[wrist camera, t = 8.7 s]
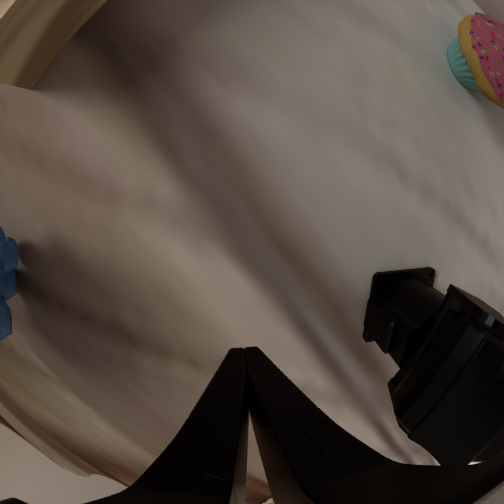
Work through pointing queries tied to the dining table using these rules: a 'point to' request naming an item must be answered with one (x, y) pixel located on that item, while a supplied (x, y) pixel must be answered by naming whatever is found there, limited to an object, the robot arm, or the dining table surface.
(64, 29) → the t block
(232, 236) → the dining table surface
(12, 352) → the dining table surface
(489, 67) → the cupcake
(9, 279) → the grapes
